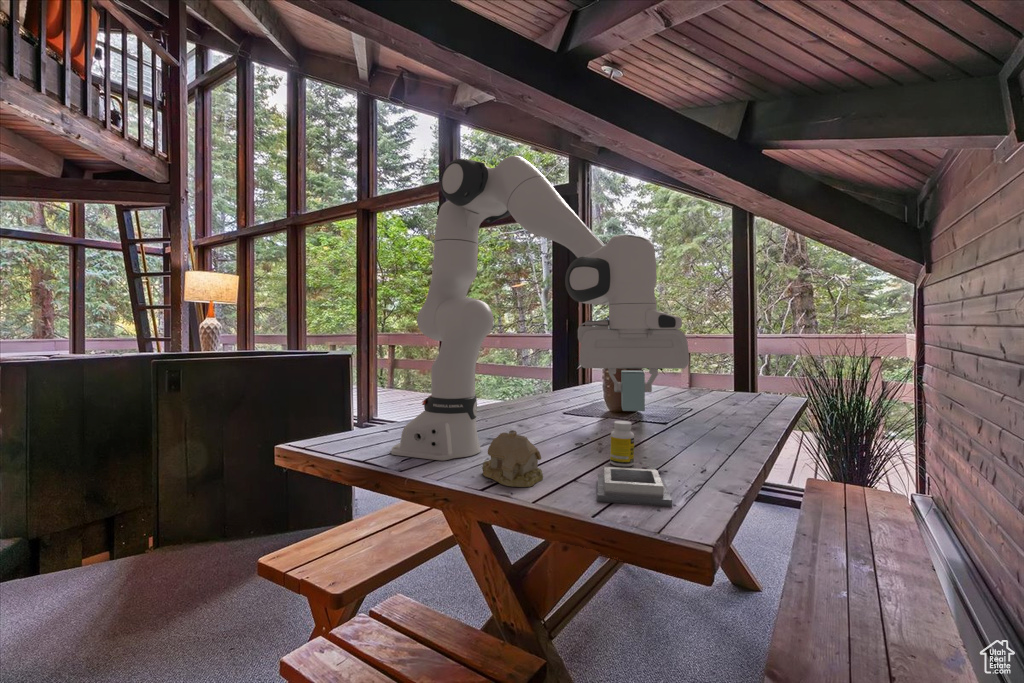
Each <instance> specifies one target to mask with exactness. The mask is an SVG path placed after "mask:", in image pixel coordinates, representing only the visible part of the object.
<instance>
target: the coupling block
mask: <svg viewBox="0 0 1024 683" xmlns="http://www.w3.org/2000/svg"><path fill="white" fill-rule="evenodd" d="M620 372H621V373H620V377H621V378H620V379H621V381H620V382H622V392H620V393H621V394H620V395H621V397H620V399H621V400H620V401H621V410H622V411H623V412H645V411H646V407H645V405H646V402H645V400H646V396H645V394H646V392H645V382H646V379H645V377H646V374H645V372H644V371H643V370H621V371H620Z"/></svg>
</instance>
